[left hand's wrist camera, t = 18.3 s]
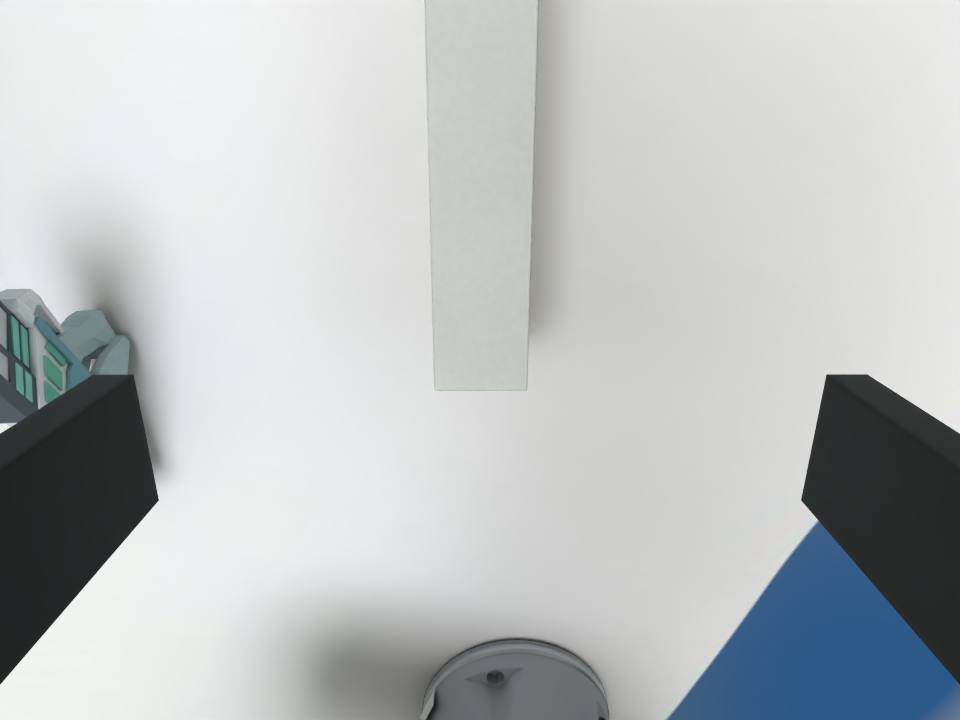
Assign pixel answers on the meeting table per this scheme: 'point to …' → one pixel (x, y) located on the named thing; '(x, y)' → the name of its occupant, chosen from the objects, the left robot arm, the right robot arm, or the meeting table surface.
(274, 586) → the meeting table surface
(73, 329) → the toy gun
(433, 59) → the bar
